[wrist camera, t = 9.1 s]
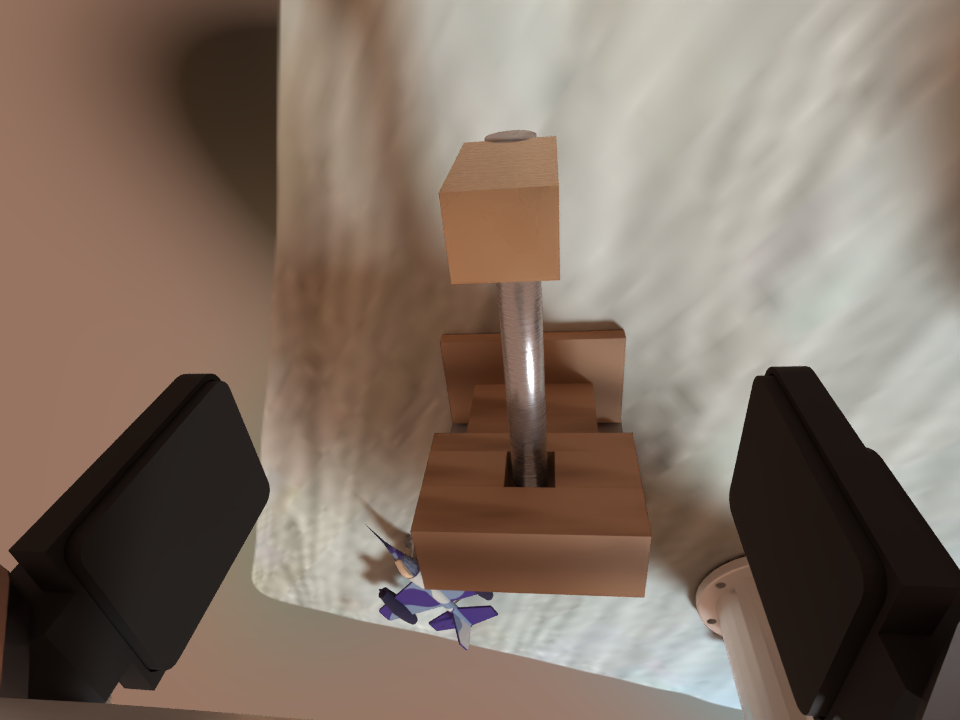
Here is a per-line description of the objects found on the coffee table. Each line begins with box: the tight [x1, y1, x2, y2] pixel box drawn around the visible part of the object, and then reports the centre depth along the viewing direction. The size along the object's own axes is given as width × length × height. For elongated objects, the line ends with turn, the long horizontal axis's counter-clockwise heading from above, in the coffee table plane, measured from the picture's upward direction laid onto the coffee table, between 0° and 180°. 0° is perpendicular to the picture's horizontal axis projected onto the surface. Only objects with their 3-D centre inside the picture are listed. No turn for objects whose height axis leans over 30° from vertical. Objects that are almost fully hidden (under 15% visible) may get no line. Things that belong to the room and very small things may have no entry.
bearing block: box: [410, 330, 652, 597], centre depth 34 cm, size 8×12×14 cm
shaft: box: [439, 130, 560, 488], centre depth 25 cm, size 22×4×8 cm, turn 5°
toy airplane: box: [365, 524, 498, 650], centre depth 51 cm, size 13×14×4 cm
